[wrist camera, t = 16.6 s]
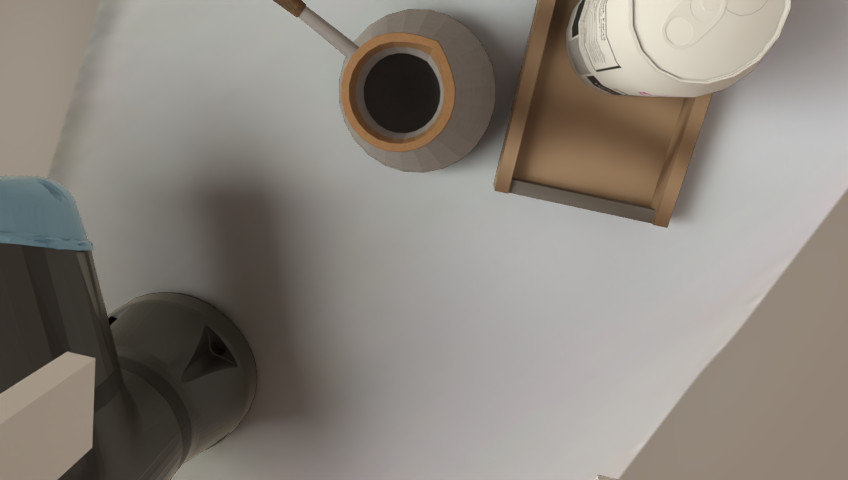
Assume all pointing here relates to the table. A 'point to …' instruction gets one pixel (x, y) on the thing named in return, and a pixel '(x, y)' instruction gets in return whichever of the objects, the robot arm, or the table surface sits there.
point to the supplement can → (670, 44)
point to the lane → (592, 134)
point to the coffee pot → (411, 87)
